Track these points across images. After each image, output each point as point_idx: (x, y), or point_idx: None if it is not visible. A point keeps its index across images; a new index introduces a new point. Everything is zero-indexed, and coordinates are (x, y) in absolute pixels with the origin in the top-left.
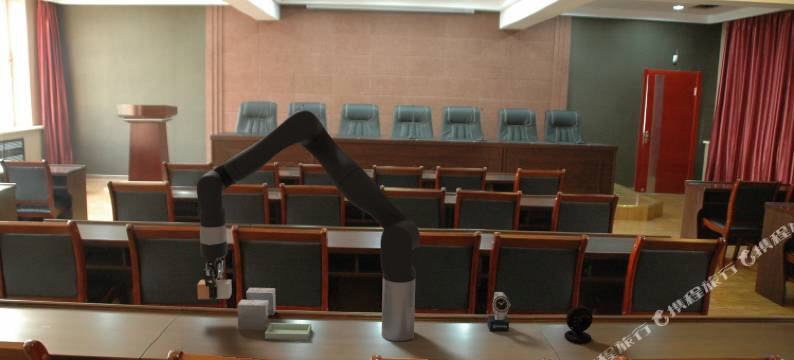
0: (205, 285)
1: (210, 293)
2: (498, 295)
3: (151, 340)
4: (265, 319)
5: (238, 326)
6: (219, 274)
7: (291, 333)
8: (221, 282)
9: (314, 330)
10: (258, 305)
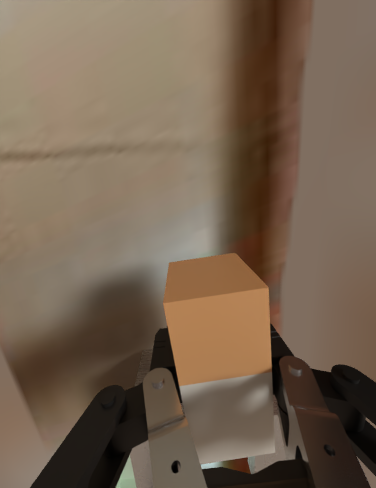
0: (173, 347)
1: (153, 349)
2: None
3: (8, 143)
4: None
5: (141, 357)
6: (286, 452)
7: None
8: (218, 426)
9: None
10: (135, 479)
